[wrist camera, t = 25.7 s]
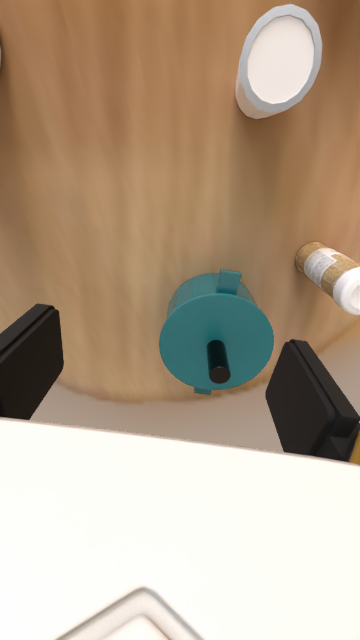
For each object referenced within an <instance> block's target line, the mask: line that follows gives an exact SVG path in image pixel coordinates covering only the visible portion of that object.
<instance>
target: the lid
mask: <svg viewBox="0 0 360 640" xmlns="http://www.w3.org/2000/svg"><path fill="white" fill-rule="evenodd" d="M273 345H274V335H273V330H272V327H271V324H270V322H269V321H268V319H267V317H266V315H265V314H264V313H263V312H262V310H260V309H259V308H258V307H257V306H256V305H255V304H253V303H252V302H250V301H248V300H246V299H244V298H242V297H239V296H236V295H232V294H225V293H211V294H205V295H201V296H197V297H195V298H192V299H190V300H188V301H186V302H184V303H183V304H181V305H180V306H178V307H177V308H176V309H175V310H174V311H173V312H172V313H171V314H170V315H169V317H168V318H167V319H166V321H165V323H164V325H163V327H162V330H161V334H160V339H159V348H160V354H161V358H162V360H163V362H164V364H165V366H166V367H167V369H168V370H169V371H170V372H171V373H172V374H173V375H174V376H175V377H176V378H178V379H179V380H180V381H182V382H184V383H186V384H188V385H190V386H193V387H196V388H200V389H206V390H222V389H229V388H233V387H236V386H239V385H241V384H243V383H246V382H247V381H249V380H251V379H252V378H254V377H255V376H256V375H257V374H258V373H259V372H261V370H262V369H263V368H264V367H265V366H266V364H267V362H268V361H269V359H270V357H271V354H272V351H273Z"/></svg>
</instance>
